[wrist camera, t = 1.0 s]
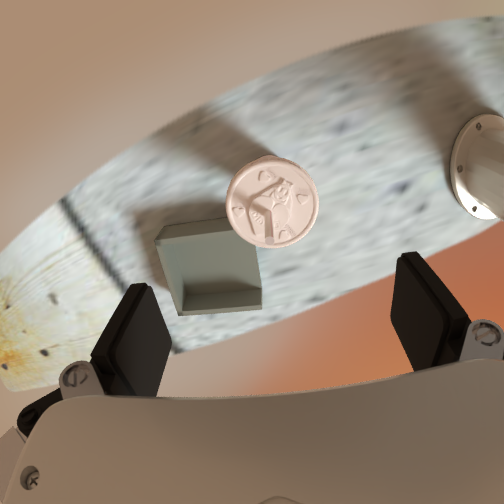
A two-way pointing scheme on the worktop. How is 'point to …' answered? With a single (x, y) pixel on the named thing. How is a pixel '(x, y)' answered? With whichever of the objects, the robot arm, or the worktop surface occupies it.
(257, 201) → the smoothie
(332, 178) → the worktop surface
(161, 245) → the bay
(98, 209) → the worktop surface
